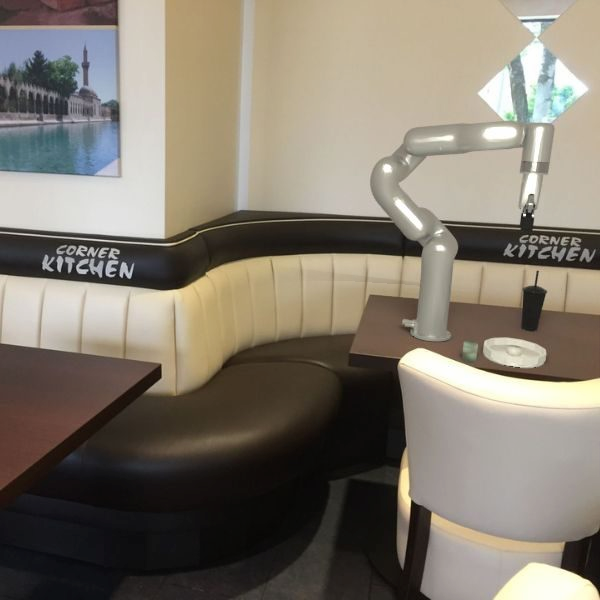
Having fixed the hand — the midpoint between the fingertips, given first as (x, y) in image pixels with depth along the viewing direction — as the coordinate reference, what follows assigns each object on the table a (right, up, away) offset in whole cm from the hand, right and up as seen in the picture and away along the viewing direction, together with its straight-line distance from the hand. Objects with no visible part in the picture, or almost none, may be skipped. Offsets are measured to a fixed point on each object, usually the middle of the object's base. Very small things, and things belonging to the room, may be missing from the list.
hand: (525, 229), depth 172 cm
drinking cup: (+12, -30, +28) cm, 43 cm away
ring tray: (-3, -37, +2) cm, 37 cm away
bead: (-17, -38, -2) cm, 41 cm away
